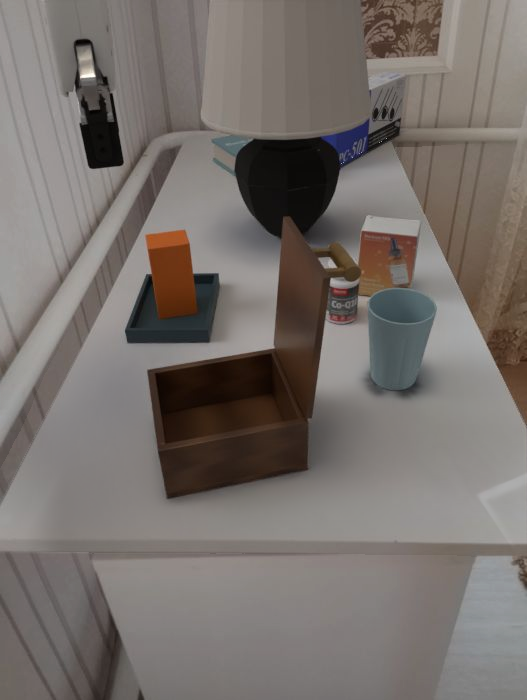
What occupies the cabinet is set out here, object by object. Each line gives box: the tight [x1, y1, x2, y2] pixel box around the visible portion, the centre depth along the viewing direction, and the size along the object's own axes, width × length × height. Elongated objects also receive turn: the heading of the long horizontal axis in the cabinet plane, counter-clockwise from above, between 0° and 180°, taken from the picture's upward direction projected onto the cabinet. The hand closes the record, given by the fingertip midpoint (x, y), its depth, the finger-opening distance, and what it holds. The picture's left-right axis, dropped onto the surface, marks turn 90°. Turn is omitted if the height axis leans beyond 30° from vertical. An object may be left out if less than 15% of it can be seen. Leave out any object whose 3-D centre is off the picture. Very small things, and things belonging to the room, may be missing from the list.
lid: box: [273, 216, 361, 419], centre depth 59 cm, size 15×13×5 cm
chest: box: [146, 347, 310, 499], centre depth 64 cm, size 15×13×7 cm
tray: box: [124, 272, 221, 344], centre depth 86 cm, size 15×11×2 cm
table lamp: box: [200, 0, 372, 238], centre depth 95 cm, size 27×27×40 cm
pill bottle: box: [325, 257, 359, 325], centre depth 82 cm, size 5×5×8 cm
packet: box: [144, 229, 198, 319], centre depth 83 cm, size 6×4×11 cm
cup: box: [366, 288, 438, 391], centre depth 71 cm, size 8×8×10 cm
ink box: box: [321, 71, 407, 168], centre depth 137 cm, size 30×7×14 cm, turn 142°
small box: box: [357, 214, 422, 297], centre depth 87 cm, size 8×6×10 cm
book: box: [211, 135, 253, 178], centre depth 131 cm, size 23×16×5 cm
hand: (105, 149), depth 59 cm, fingers open, 9 cm apart
